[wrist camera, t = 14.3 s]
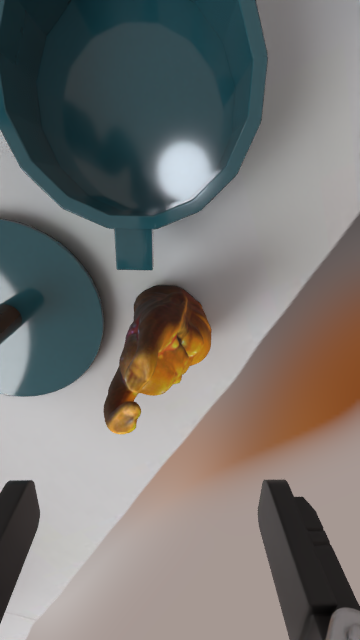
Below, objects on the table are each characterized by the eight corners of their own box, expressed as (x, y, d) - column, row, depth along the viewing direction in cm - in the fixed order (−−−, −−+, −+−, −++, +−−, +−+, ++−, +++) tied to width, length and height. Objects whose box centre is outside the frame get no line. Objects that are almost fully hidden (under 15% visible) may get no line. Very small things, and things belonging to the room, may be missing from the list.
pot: (49, 255, 25) (18, 270, 20) (1, -105, 17) (-68, -227, 12) (231, 258, 25) (245, 274, 20) (260, -92, 18) (295, -205, 13)
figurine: (201, 348, 28) (222, 457, 16) (127, 338, 28) (93, 443, 16) (214, 281, 26) (250, 351, 14) (135, 268, 25) (102, 331, 13)
